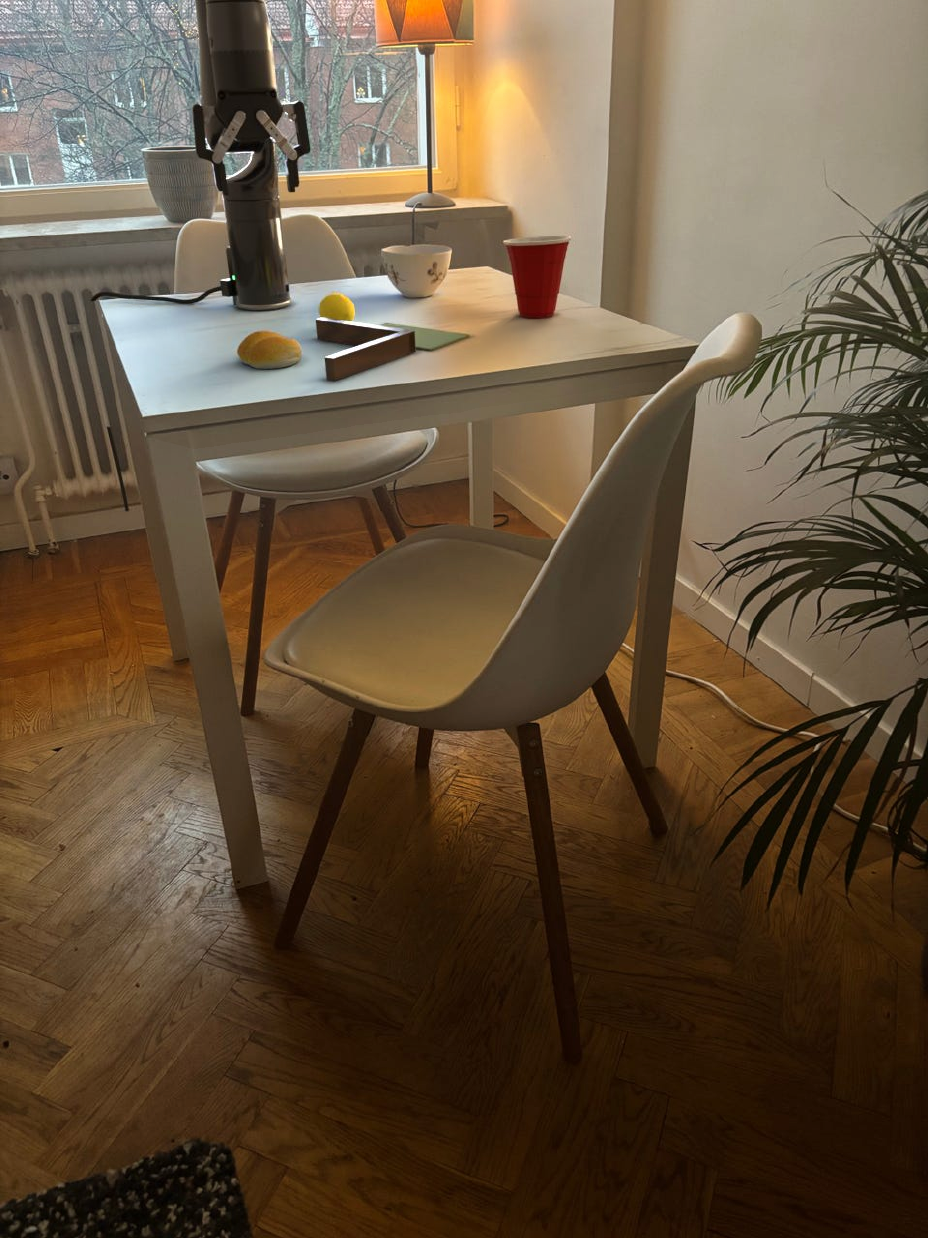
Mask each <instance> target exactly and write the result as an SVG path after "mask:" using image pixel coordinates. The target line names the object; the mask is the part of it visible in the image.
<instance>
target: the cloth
mask: <svg viewBox="0 0 928 1238" xmlns="http://www.w3.org/2000/svg"><path fill="white" fill-rule="evenodd" d="M378 326H385V327H392V328H399V329H406V330H413V331H415V350H422V351H427V352H432V351H434V350H437V349H439V348H442V347H445V346H447V345H450V344H453V343H456V342H458V341H461V340H464V339H466V338H469V337H470V334H469V333H468V334H467V333H460V332H454V331H447V330H440V329H432V328H426V327H425V328H424V327H418V326H411V325H405V324H398V323H390V322H384V323H382V324H378Z"/></svg>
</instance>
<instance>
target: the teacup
mask: <svg viewBox="0 0 928 1238" xmlns="http://www.w3.org/2000/svg"><path fill="white" fill-rule="evenodd" d="M452 251H453V250H452V248H451V247H450V246H446V245H442V244H440V245H439V244H429V243H427V244H424V243H423V244H410V245H408V246H406V245H403V244H402V245H391V246H388V247H384V248H381V249H380V254H381V255H380V256H381V261H382V264H383V268H384V271H385V274H386V276H387V278H388V280H389V281H390V283H391V284H392V285H393V286H394V288H395V289H396V290H397V291H398V292H399V293H400V294H401V295H402V296H403V297H405V298H414V299H415V298H425V297H426V298H427V297H429V296H434V295H435V293H436V291H437V290H439V288H440V286H441V285H442V284H443V283H444V281H445V279H446V277H447V274H448V272H449V268H450V264H451V258H452V253H453V252H452Z"/></svg>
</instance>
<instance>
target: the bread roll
mask: <svg viewBox="0 0 928 1238" xmlns="http://www.w3.org/2000/svg"><path fill="white" fill-rule="evenodd" d="M236 351H237V352H236V354H237V356H238V358H239V359H240V361H241V362H242V363H244V364H246V365H249V366H251V367H252V368H253V369H258V370H269V369H282V368H287V367H290V366H293V365H296V363H298V362H299V361H300V360H301V359H302V358H303V357H302V356H303V354H302V352H303V350H302V347H301V345H300V344H299V342H298V341H297V340H296V339H293V338H290V337H285V336H283V335H282V334H280V333H277V332H275V331H272V330H271V331H270V330H258V331H254V332H251V333H250V334H248V335H247V336H246V337H244V339H243V340H241V342H240V343H239V345H238V346H237V349H236Z"/></svg>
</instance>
